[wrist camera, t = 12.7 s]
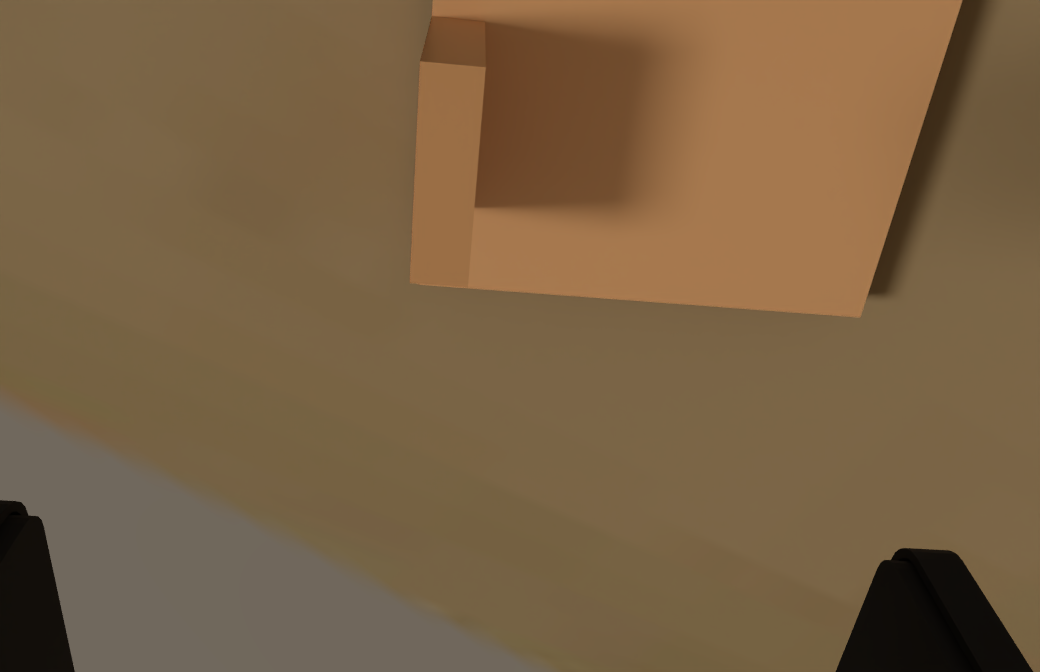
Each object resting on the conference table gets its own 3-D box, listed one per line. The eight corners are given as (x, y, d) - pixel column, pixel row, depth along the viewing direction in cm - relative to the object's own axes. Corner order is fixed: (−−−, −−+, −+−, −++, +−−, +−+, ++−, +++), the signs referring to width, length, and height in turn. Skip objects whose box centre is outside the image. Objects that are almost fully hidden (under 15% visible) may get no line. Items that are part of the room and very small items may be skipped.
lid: (440, -100, 28) (426, -74, 21) (941, -45, 29) (1091, -3, 22) (421, 258, 33) (405, 375, 26) (839, 290, 35) (931, 410, 28)
